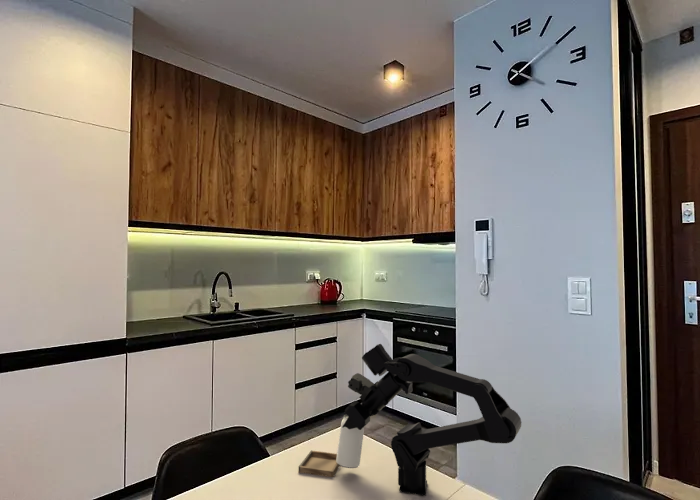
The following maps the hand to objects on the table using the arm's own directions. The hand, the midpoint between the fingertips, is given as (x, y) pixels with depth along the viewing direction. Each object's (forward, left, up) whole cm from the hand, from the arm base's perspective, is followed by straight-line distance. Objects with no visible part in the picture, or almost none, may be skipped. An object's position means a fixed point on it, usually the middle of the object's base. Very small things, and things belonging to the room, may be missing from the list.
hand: (348, 424), depth 106 cm
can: (-1, +3, -10) cm, 10 cm away
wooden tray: (+8, 0, -12) cm, 14 cm away
